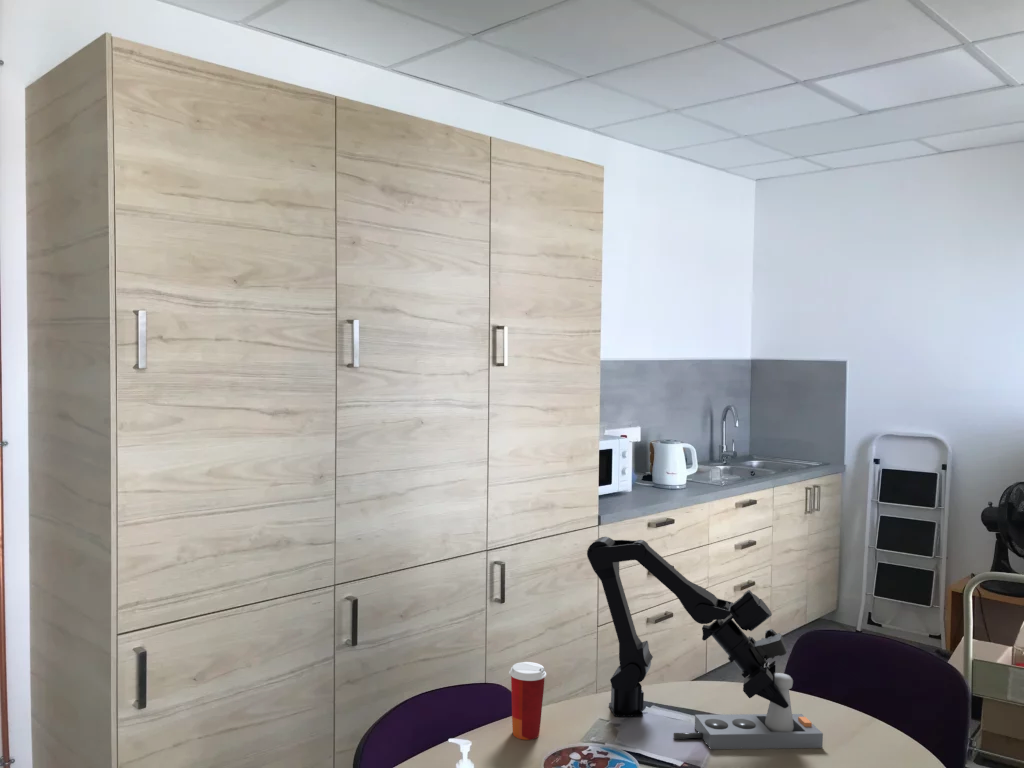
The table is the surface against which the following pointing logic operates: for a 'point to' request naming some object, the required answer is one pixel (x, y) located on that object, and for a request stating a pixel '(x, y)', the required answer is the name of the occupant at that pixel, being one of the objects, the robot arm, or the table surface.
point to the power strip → (752, 732)
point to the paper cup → (527, 699)
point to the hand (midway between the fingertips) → (787, 703)
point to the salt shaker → (777, 715)
